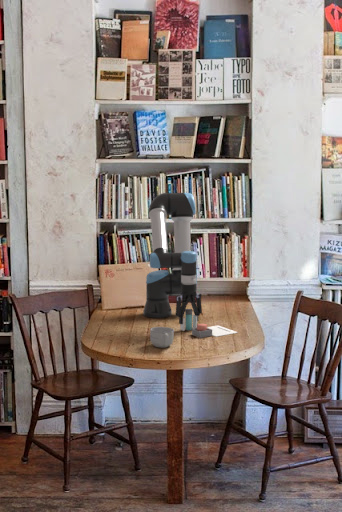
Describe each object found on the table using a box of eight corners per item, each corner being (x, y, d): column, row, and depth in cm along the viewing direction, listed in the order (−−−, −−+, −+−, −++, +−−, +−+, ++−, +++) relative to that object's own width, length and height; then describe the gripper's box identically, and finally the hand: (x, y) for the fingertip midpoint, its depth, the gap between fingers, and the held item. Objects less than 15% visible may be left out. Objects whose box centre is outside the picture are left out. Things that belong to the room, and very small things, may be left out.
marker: (183, 329, 364) (183, 309, 362) (189, 328, 366) (189, 308, 364) (187, 330, 361) (187, 310, 359) (193, 329, 363) (193, 309, 361)
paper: (196, 329, 363) (196, 328, 363) (218, 325, 370) (218, 325, 370) (216, 336, 350) (216, 336, 350) (237, 332, 357) (237, 332, 357)
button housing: (191, 334, 354) (191, 328, 354) (203, 332, 358) (203, 326, 357) (200, 337, 348) (200, 331, 348) (212, 335, 352) (212, 329, 351)
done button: (194, 331, 353) (194, 324, 353) (203, 330, 356) (203, 323, 356) (200, 333, 349) (200, 326, 349) (209, 332, 352) (209, 325, 351)
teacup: (149, 343, 340) (149, 326, 339) (173, 342, 341) (173, 325, 340) (151, 351, 327) (151, 334, 325) (175, 351, 327) (175, 333, 326)
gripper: (176, 286, 351) (176, 333, 355) (209, 282, 362) (209, 328, 365) (167, 284, 357) (167, 330, 361) (200, 279, 368) (200, 324, 371)
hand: (188, 329), depth 363 cm, fingers open, 7 cm apart
